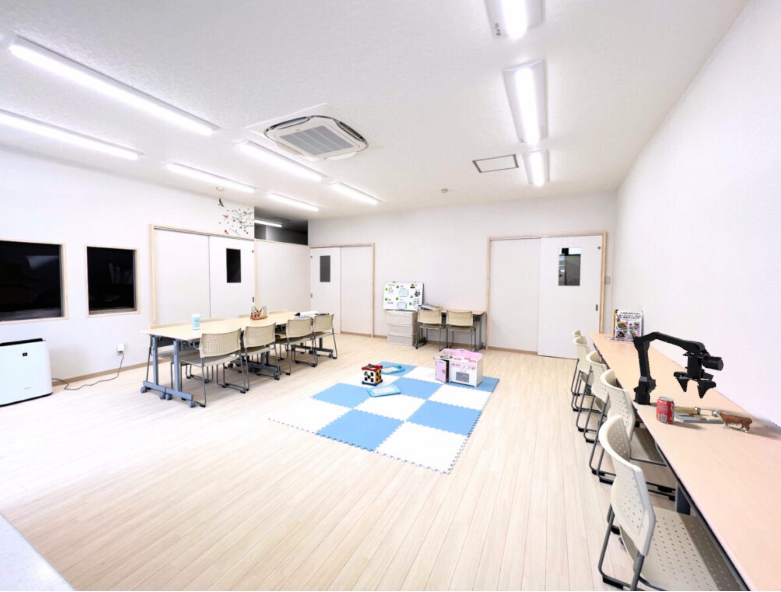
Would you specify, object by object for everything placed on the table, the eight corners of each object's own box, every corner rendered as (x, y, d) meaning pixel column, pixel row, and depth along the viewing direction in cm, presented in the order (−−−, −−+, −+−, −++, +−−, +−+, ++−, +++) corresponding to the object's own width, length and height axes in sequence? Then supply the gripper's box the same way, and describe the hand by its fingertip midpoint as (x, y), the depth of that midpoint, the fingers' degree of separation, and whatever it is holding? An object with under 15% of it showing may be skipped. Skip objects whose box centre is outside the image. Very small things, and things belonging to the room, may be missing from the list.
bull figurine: (712, 422, 166) (713, 407, 166) (751, 432, 157) (752, 415, 156) (711, 425, 163) (713, 409, 163) (751, 435, 154) (753, 418, 153)
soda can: (670, 420, 169) (672, 397, 168) (675, 425, 163) (677, 402, 162) (653, 417, 172) (655, 395, 171) (658, 422, 166) (659, 399, 165)
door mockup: (683, 422, 167) (684, 413, 167) (665, 412, 179) (665, 404, 179) (730, 423, 166) (731, 415, 165) (709, 413, 178) (709, 405, 177)
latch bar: (697, 412, 173) (698, 406, 173) (701, 414, 171) (702, 408, 171) (673, 411, 174) (674, 406, 174) (677, 413, 171) (677, 408, 171)
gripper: (728, 371, 160) (726, 402, 161) (693, 361, 178) (692, 389, 179) (705, 370, 160) (703, 401, 161) (673, 361, 179) (671, 389, 179)
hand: (692, 395), depth 170 cm, fingers open, 9 cm apart
